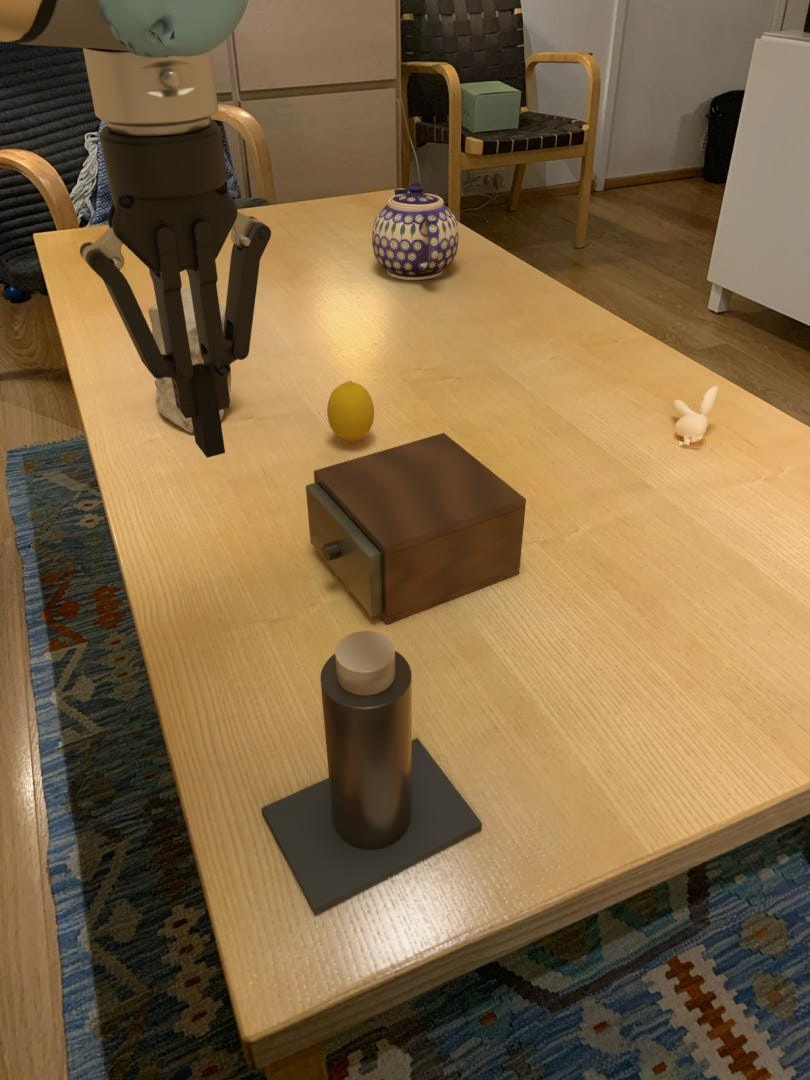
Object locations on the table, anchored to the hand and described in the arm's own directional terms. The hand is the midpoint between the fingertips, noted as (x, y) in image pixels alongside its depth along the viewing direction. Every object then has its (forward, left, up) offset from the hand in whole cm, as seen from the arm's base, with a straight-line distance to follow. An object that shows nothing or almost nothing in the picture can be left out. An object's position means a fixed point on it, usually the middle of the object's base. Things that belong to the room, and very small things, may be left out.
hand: (210, 447), depth 69 cm
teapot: (+61, +72, -19) cm, 96 cm away
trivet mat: (+1, -25, -18) cm, 31 cm away
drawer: (+17, 0, -17) cm, 24 cm away
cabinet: (+19, 0, -18) cm, 26 cm away
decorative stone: (+10, +41, -19) cm, 46 cm away
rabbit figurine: (+61, +5, -19) cm, 64 cm away
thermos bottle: (+1, -25, -18) cm, 31 cm away
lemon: (+24, +24, -19) cm, 39 cm away
